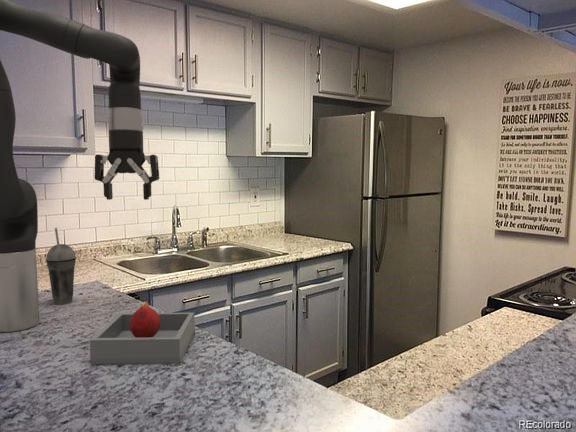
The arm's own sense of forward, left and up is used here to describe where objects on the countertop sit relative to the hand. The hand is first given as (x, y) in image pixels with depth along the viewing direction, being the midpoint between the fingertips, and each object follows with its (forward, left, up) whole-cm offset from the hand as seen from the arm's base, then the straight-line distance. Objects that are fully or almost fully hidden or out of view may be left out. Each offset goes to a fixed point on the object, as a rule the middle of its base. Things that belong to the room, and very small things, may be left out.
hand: (128, 199), depth 110 cm
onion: (+9, -20, -27) cm, 35 cm away
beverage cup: (-22, +13, -28) cm, 38 cm away
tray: (+9, -20, -28) cm, 36 cm away
